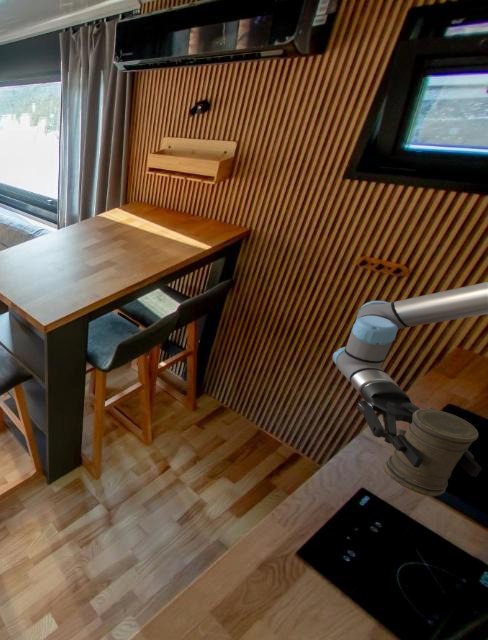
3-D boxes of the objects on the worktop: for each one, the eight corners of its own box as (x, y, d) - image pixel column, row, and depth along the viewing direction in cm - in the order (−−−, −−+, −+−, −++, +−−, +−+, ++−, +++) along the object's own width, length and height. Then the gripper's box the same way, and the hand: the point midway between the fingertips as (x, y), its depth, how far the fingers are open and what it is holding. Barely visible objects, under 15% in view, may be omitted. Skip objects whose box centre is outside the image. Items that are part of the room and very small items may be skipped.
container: (433, 503, 78) (471, 447, 70) (375, 471, 86) (403, 417, 78) (452, 484, 81) (491, 428, 73) (394, 454, 88) (423, 401, 81)
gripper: (430, 408, 91) (513, 491, 73) (324, 396, 99) (373, 468, 81) (442, 386, 88) (532, 467, 69) (331, 375, 96) (385, 445, 78)
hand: (446, 467), depth 75 cm, fingers closed on container, 8 cm apart
